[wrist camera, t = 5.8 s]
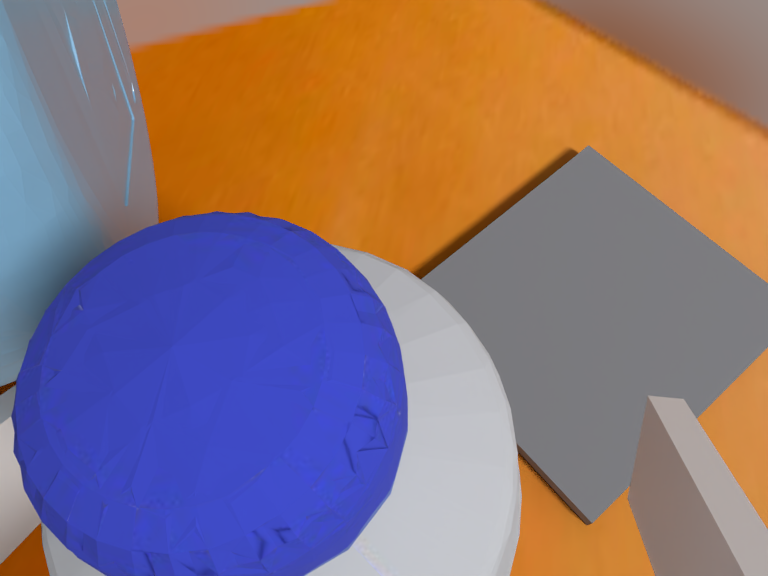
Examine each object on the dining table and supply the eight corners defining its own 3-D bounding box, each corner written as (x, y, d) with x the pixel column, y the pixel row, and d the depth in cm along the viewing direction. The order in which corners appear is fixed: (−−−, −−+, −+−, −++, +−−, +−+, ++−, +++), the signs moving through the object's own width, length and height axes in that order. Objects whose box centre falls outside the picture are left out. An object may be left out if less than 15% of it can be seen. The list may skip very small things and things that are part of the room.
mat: (388, 313, 26) (387, 306, 26) (584, 156, 29) (588, 145, 28) (587, 525, 22) (592, 523, 22) (792, 319, 25) (803, 311, 24)
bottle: (289, 448, 24) (-123, 51, 6) (463, 441, 24) (564, -1, 6) (282, 647, 21) (-528, 992, 3) (479, 642, 21) (779, 993, 3)
